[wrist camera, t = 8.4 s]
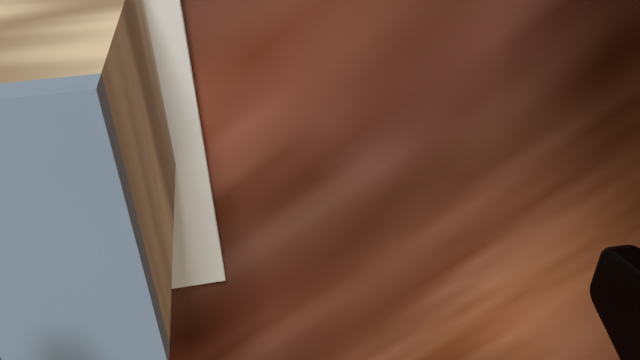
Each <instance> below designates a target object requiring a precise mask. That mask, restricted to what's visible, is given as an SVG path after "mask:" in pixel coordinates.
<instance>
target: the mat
mask: <svg viewBox="0 0 640 360" xmlns="http://www.w3.org/2000/svg"><path fill="white" fill-rule="evenodd" d="M144 5H145V10H146V16H147V21H148V26H149V31H150V36H151V41H152V46H153V51H154V56H155V61H156V67H157V72H158V77H159V82H160V87H161V92H162V97H163V102H164V107H165V112H166V118H167V123H168V128H169V133H170V138H171V143H172V148H173V153H174V158H175V163H176V168H175V198H174V229H173V259H172V289H174V288H181V287H187V286H194V285H200V284H207V283H213V282H220V281H226V280H225V269H224V263H223V257H222V250H221V244H220V238H219V232H218V226H217V220H216V214H215V208H214V201H213V195H212V189H211V183H210V177H209V171H208V165H207V158H206V152H205V146H204V140H203V134H202V128H201V122H200V115H199V109H198V103H197V97H196V91H195V85H194V79H193V72H192V66H191V60H190V54H189V48H188V42H187V36H186V29H185V23H184V17H183V11H182V5H181V0H144Z"/></svg>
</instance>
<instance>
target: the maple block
mask: <svg viewBox="0 0 640 360" xmlns="http://www.w3.org/2000/svg"><path fill="white" fill-rule="evenodd" d="M175 168H176V163H175V158H174V153H173V148H172V143H171V138H170V133H169V128H168V123H167V118H166V112H165V107H164V102H163V97H162V92H161V87H160V82H159V77H158V72H157V67H156V61H155V56H154V51H153V46H152V41H151V36H150V31H149V26H148V21H147V16H146V10H145V5H144V0H0V358H1V360H169V350H170V320H171V289H172V259H173V229H174V198H175Z"/></svg>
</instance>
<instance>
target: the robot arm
mask: <svg viewBox="0 0 640 360" xmlns="http://www.w3.org/2000/svg"><path fill="white" fill-rule="evenodd" d="M590 295H591V299H592V302H593V304H594V306H595V308H596V310H597V312H598V314H599V317H600V319H601V321H602V323H603V325H604V327H605V329H606V331H607V333H608V335H609V337H610V339H611V341H612V343H613V345H614V348H615V350H616V352H617V354H618V356H619V358H620V360H640V248H638V247H636V246H633V245H621V246H613V247H608V248H605V249H604V250H603V251H602V252H601V255H600V257H599V260H598V263H597V266H596V269H595V272H594V275H593V279H592V282H591V285H590ZM0 360H1V358H0Z"/></svg>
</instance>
